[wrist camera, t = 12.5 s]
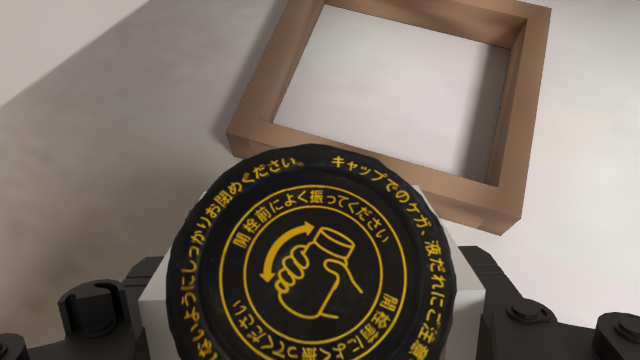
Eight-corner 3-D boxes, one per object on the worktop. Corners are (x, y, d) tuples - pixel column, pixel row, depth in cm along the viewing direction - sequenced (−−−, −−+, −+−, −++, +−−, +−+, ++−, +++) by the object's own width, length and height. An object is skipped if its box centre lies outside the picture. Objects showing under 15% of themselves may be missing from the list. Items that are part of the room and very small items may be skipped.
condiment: (414, 423, 17) (572, 470, 6) (191, 456, 17) (-42, 568, 6) (379, 241, 20) (445, 68, 10) (190, 265, 20) (35, 112, 9)
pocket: (532, 39, 28) (551, 8, 26) (500, 235, 23) (520, 218, 20) (313, -14, 30) (312, -47, 28) (234, 156, 24) (225, 132, 22)
